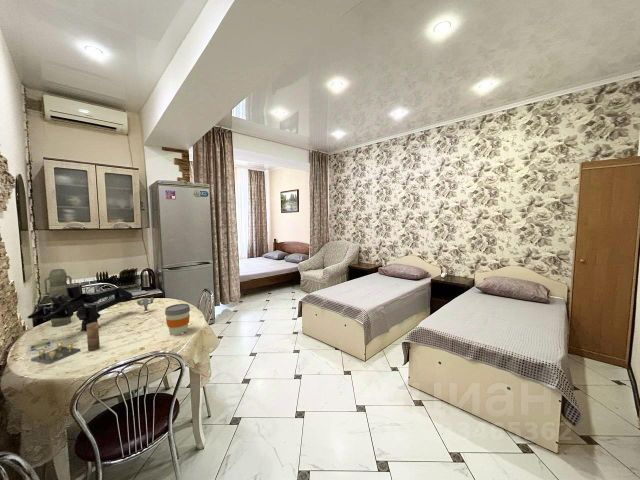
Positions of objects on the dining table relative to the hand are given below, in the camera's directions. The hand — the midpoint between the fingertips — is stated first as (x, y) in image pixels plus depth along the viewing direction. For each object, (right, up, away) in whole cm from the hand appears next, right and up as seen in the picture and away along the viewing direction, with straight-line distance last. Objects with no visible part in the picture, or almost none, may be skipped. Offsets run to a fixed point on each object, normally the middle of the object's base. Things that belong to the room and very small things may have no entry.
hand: (35, 318), depth 125 cm
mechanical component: (+18, -13, +53) cm, 58 cm away
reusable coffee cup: (+60, -15, +21) cm, 65 cm away
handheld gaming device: (-2, -17, +4) cm, 18 cm away
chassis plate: (+15, -17, -4) cm, 23 cm away
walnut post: (+27, -16, +2) cm, 32 cm away
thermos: (-22, -15, +35) cm, 44 cm away
